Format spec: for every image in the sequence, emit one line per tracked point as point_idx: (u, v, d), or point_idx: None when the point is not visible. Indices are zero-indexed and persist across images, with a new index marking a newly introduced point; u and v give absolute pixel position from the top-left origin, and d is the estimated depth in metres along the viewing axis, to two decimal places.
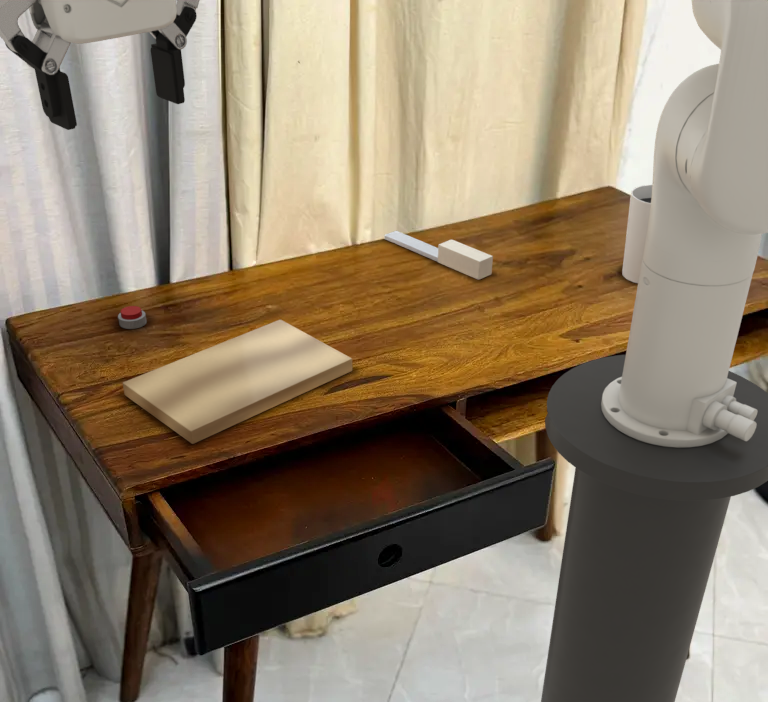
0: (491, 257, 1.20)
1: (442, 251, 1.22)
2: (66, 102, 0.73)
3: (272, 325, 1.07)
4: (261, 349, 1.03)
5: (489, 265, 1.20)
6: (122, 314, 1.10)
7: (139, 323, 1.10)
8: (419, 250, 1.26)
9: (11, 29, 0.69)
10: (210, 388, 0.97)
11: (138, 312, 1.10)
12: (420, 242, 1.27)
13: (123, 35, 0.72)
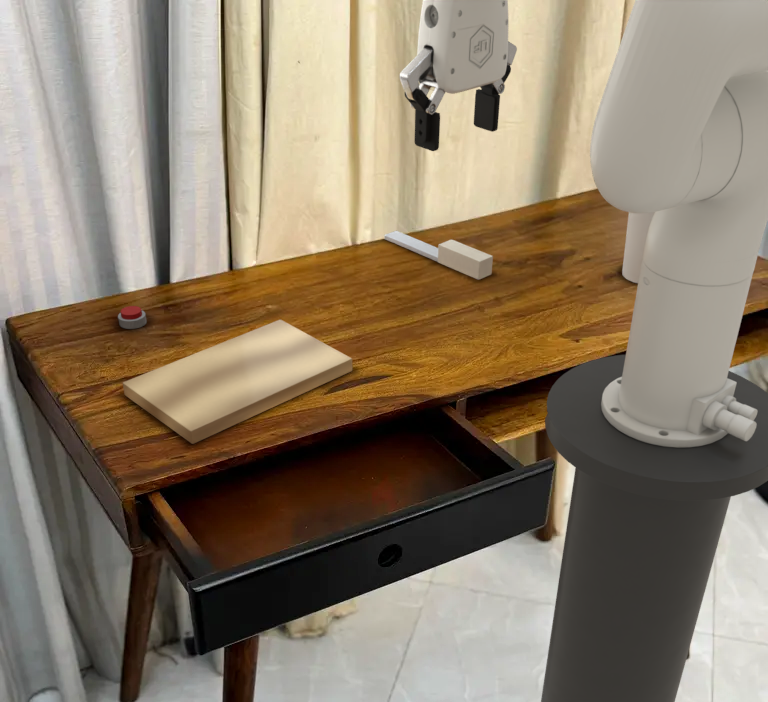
0: (491, 257, 1.20)
1: (442, 251, 1.22)
2: (436, 132, 1.06)
3: (272, 325, 1.07)
4: (261, 349, 1.03)
5: (489, 265, 1.20)
6: (122, 314, 1.10)
7: (139, 323, 1.10)
8: (419, 250, 1.26)
9: (414, 84, 1.02)
10: (210, 388, 0.97)
11: (138, 312, 1.10)
12: (420, 242, 1.27)
13: (476, 87, 1.06)
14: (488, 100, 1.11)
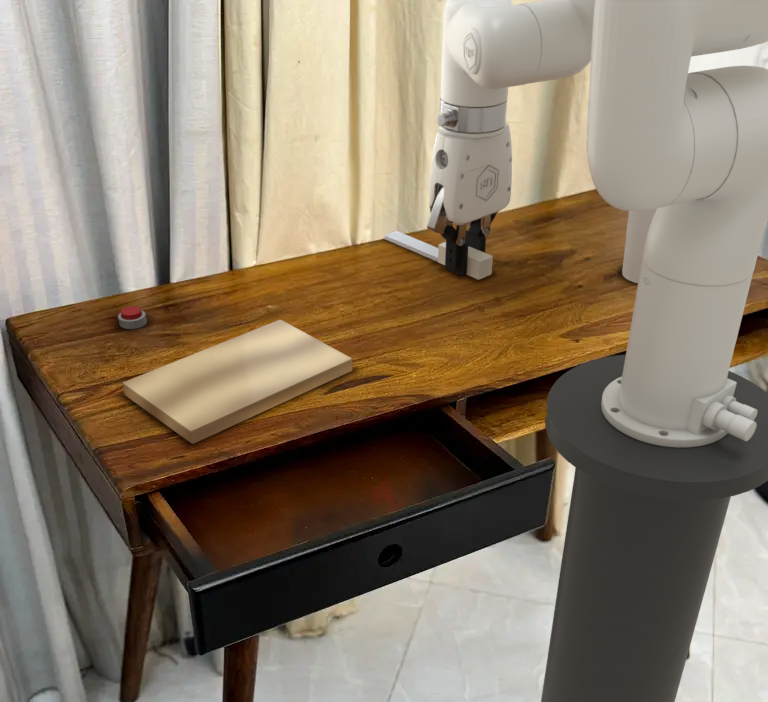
0: (491, 257, 1.20)
1: (442, 251, 1.22)
2: (465, 260, 1.19)
3: (272, 325, 1.07)
4: (261, 349, 1.03)
5: (489, 265, 1.20)
6: (122, 314, 1.10)
7: (139, 323, 1.10)
8: (419, 250, 1.26)
9: (442, 228, 1.16)
10: (210, 388, 0.97)
11: (138, 312, 1.10)
12: (420, 242, 1.27)
13: (483, 217, 1.17)
14: (475, 241, 1.21)
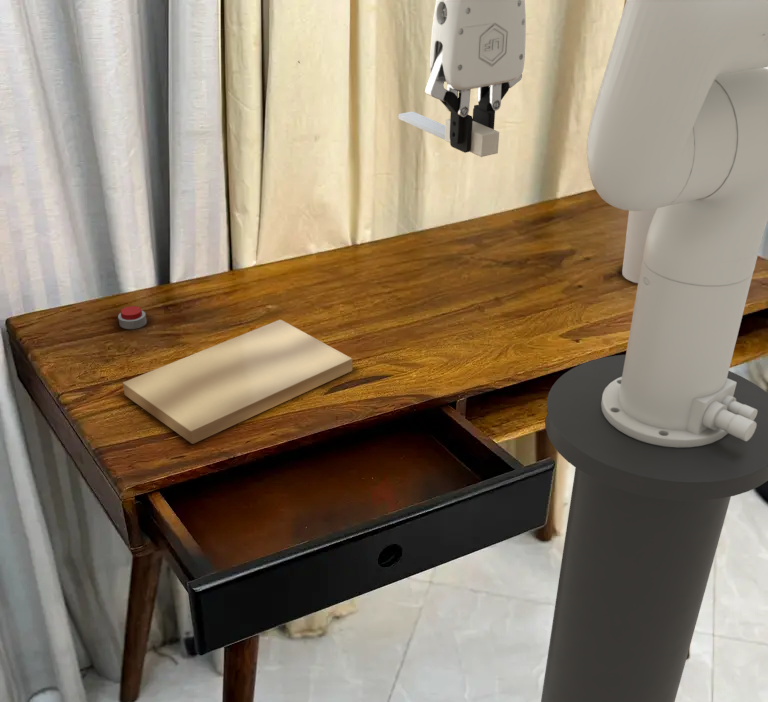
0: (497, 133, 1.10)
1: (449, 127, 1.14)
2: (468, 134, 1.10)
3: (272, 325, 1.07)
4: (261, 349, 1.03)
5: (494, 142, 1.11)
6: (122, 314, 1.10)
7: (139, 323, 1.10)
8: (428, 128, 1.17)
9: (442, 93, 1.07)
10: (210, 388, 0.97)
11: (138, 312, 1.10)
12: (433, 122, 1.19)
13: (488, 85, 1.07)
14: (483, 116, 1.11)
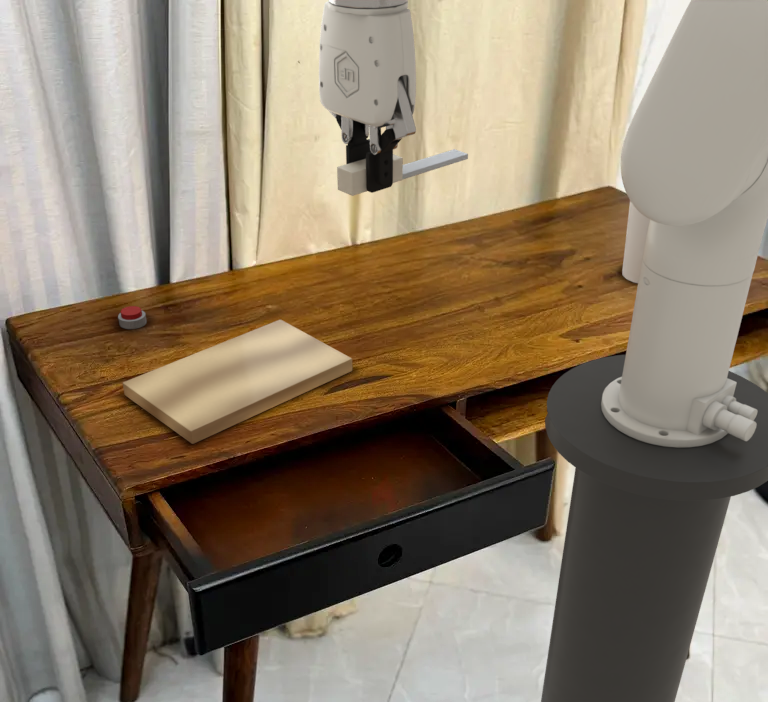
0: (350, 173, 1.00)
1: None
2: None
3: (272, 325, 1.07)
4: (261, 349, 1.03)
5: (348, 182, 1.00)
6: (122, 314, 1.10)
7: (139, 323, 1.10)
8: (411, 162, 1.07)
9: None
10: (210, 388, 0.97)
11: (138, 312, 1.10)
12: (432, 162, 1.07)
13: (349, 118, 0.98)
14: None
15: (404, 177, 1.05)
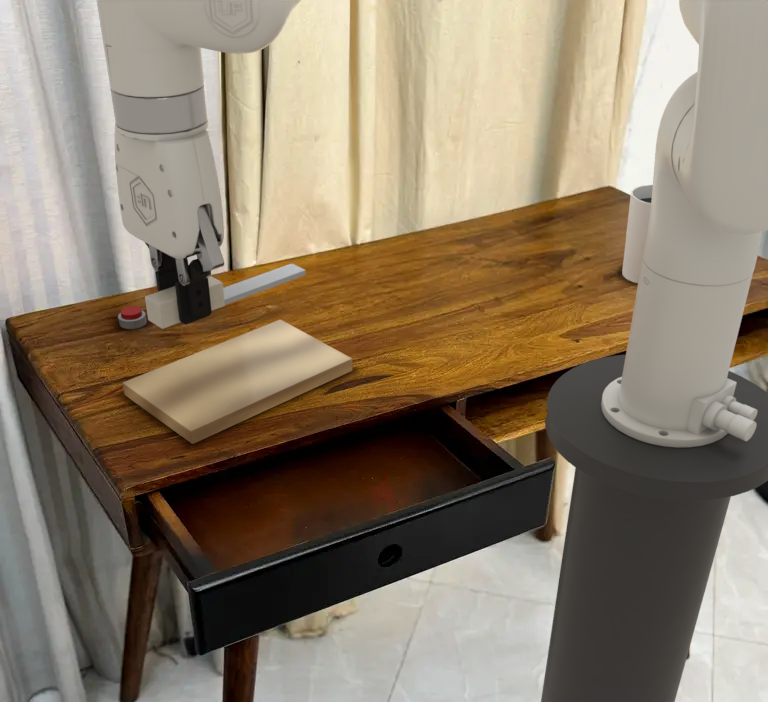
0: (157, 305, 0.88)
1: None
2: None
3: (272, 325, 1.07)
4: (261, 349, 1.03)
5: (156, 314, 0.89)
6: (122, 314, 1.10)
7: (139, 323, 1.10)
8: (239, 282, 0.96)
9: None
10: (210, 388, 0.97)
11: (138, 312, 1.10)
12: (262, 282, 0.96)
13: None
14: None
15: (227, 302, 0.94)
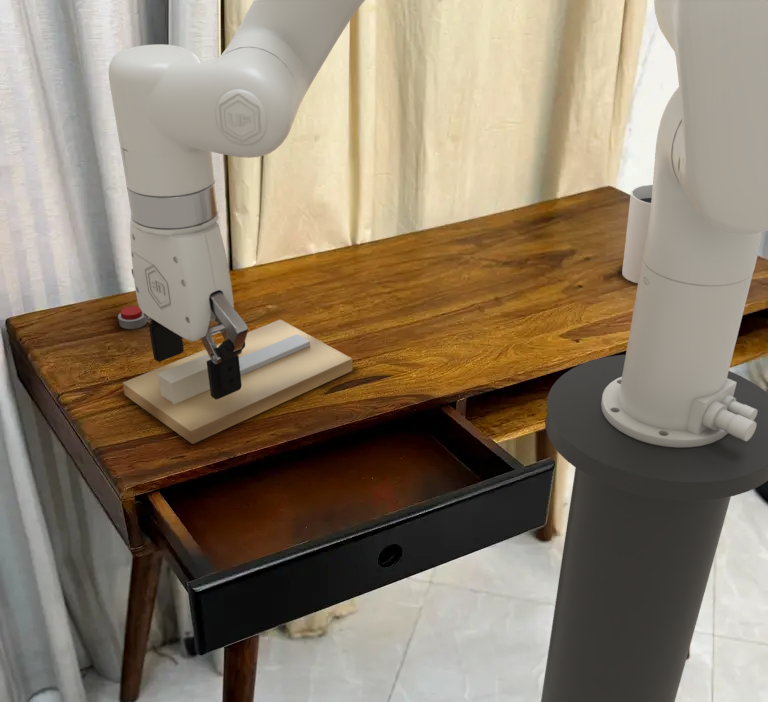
0: (169, 383, 0.93)
1: None
2: (152, 343, 0.97)
3: (272, 325, 1.07)
4: None
5: (169, 390, 0.94)
6: (122, 314, 1.10)
7: (139, 323, 1.10)
8: (247, 355, 1.01)
9: None
10: None
11: (138, 312, 1.10)
12: (268, 355, 1.01)
13: None
14: None
15: None
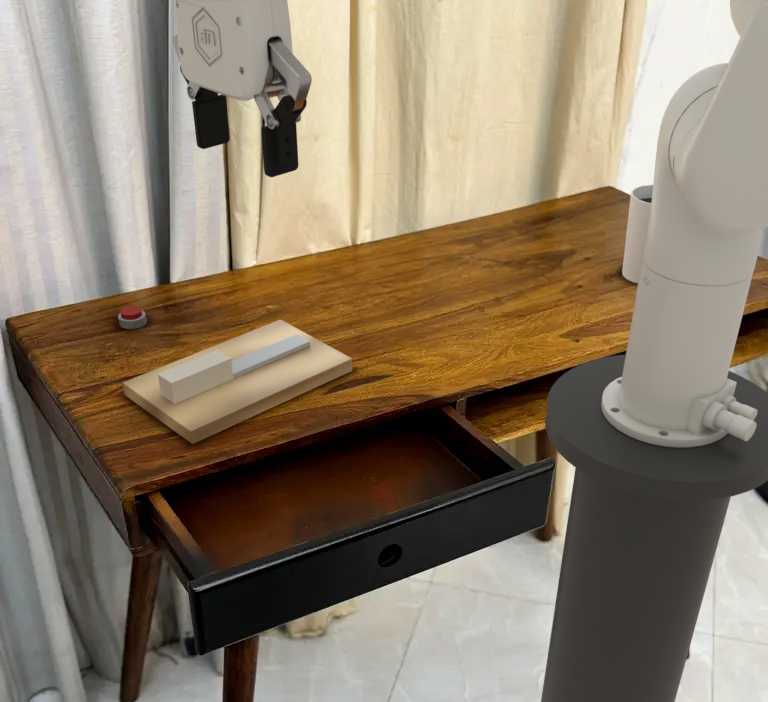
0: (169, 383, 0.93)
1: None
2: (195, 125, 0.86)
3: (272, 325, 1.07)
4: None
5: (169, 390, 0.94)
6: (122, 314, 1.10)
7: (139, 323, 1.10)
8: (247, 355, 1.01)
9: None
10: None
11: (138, 312, 1.10)
12: (268, 355, 1.01)
13: (215, 91, 0.80)
14: None
15: (235, 376, 0.98)
